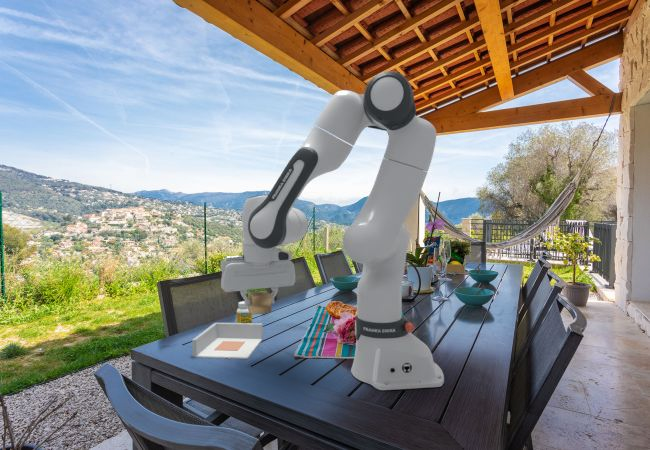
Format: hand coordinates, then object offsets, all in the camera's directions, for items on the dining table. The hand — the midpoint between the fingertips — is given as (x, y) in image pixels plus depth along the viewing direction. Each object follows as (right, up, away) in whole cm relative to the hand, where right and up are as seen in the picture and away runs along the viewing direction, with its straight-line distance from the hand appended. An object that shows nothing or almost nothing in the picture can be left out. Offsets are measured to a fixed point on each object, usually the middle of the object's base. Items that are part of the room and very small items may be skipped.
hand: (259, 304), depth 97 cm
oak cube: (0, -2, 0) cm, 2 cm away
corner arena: (-11, -15, +10) cm, 21 cm away
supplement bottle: (-10, -15, +27) cm, 32 cm away
